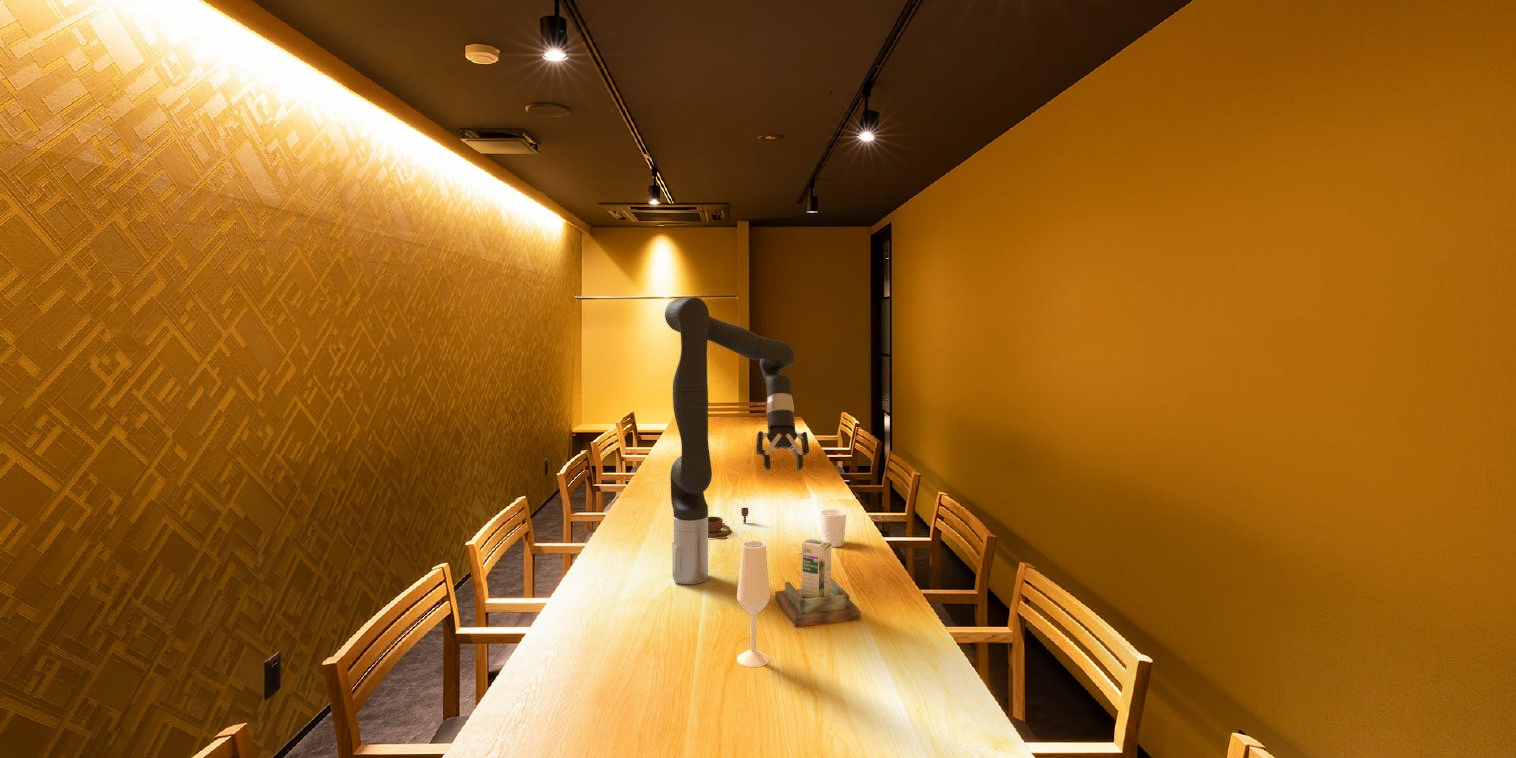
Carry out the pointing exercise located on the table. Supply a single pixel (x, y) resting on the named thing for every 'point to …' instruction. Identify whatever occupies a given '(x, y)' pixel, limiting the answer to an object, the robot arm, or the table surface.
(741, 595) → the champagne flute
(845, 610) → the dock
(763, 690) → the table surface
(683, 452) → the robot arm
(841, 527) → the white cup
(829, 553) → the syrup box
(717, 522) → the place setting
